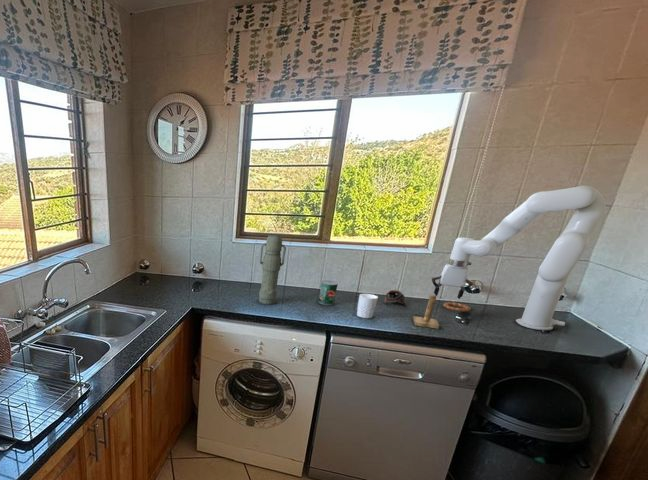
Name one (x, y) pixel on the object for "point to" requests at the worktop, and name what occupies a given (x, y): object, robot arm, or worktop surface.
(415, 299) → the worktop surface
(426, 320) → the stand
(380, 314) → the worktop surface
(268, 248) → the grey stone vase
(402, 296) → the brown domed piece
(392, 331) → the worktop surface
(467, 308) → the ring
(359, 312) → the white cup
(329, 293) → the canned tomato
